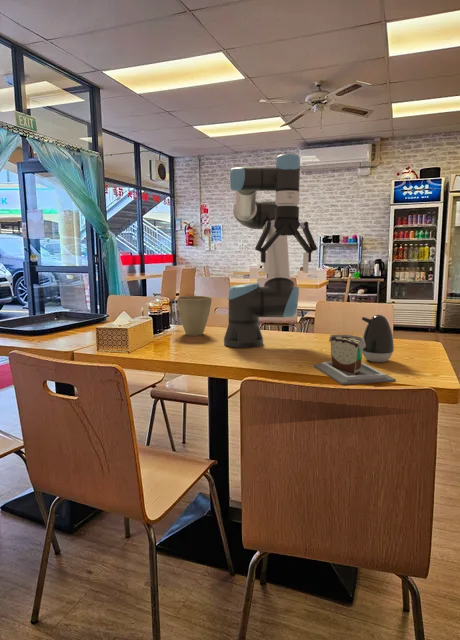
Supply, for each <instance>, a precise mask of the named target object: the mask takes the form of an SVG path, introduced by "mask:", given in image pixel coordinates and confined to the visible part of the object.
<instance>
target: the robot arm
mask: <svg viewBox="0 0 460 640" xmlns="http://www.w3.org/2000/svg"><path fill="white" fill-rule="evenodd" d="M275 159H276V160H275V167H274V166H273V167H269V166H268V167H253V166H251V167H248V166H247V167H246V166H245V167H244V166H240V167H232V168H231V169H230V171H229V172H230V173H229V178H230V179H229V181H230V183H229V189H230V191H233V192H235V203H234V204H233V216H234V218H235V220H236V221H238V223H239V224H241V225H242V226H243V227H245V228H247V229H252V230H262V232H261V235H260V237H259V240H258V241H257V244H256V245H255V248H254V250H255V251H257V252H260V263H262V264H263V270H262V271H263V273H264V274H267V280H266V281H265V282H264V284H263V286H260V283H258V282H253V283H252V282H249V283H242V284H237V285H232V286H230V287H229V288H228V298H227V300H228V324H227V328H226V331H225V333H224V337H223V345H224V346H226V347H231V348H240V349H247V348H248V349H249V348H259V347H261V346H263V345H264V337H263V334H262V331H261V327H260V323H259V321H260V318H283V319H285V318H293V317H295V315H296V313H297V309H298V303H299V297H300V296H299V294H300V292H299V291H300V288H299V287H298V286H296V285H295V282H294V280H293V279H291V277H290V260H289V245H288V244H289V243H288V236H290V237H291V236H292V237H294V238H295V240H297V242H298V243H299V245H300V246H301V247H302V248H303V250H304V251H305V252H303V254H302V255H303V257H302V273H305V274H308V273H309V263H311V262H312V253H313V252H315V251H317V250H318V247H317V244H316V242H315V240H314V237H313V235H312V233H311V231H310V228H309V222H308V221H301V222H300V220H299V217H300V207H299V204H300V179H301V178H300V175H301V157H300V156H299V155H298V154H294V153H284V154H279V155H278V156H276V158H275ZM261 191H262V192H263V191H264V192H266V191H267V192H269V191H270V192H271V191H272V192H275V200H274V201H273V200H270V201H268V200H260V201H259V200H256V199H257V192H261ZM299 228H301V229H302V231H303V234H304V237H305V238H304V237H303V236H302V235H301V233H300V231H299V230H298V229H299ZM305 239H306V240H305ZM265 241H266V243H265ZM264 243H265V244H264ZM263 244H264V245H263Z"/></svg>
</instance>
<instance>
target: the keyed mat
mask: <svg viewBox="0 0 460 640" xmlns="http://www.w3.org/2000/svg"><path fill="white" fill-rule="evenodd" d="M313 367H314V368H315V369H317V370H319V371H320V372H322V373H323V372H324V373H323V374H325V375H326V374H327V375H326V376H328V377H329V378H331V379H332V380H334V381H335V382H337V383H338V384H339V385H341V386H342V385H343V386H344V385H359V384H375V383H391V382H392V383H395V382H396V381H397V380H396V378H394V377H392V376H390V375H388V374H387V373H384V372H383V371H380V370H378V369H376V368H374V367H372V366H370V365H368V364H365V363H364V362H362V361H361V368H360V373H359V374H358V375H351V374H348V373H345V372H342V371H339V370H337V369H336V368H334V367H332V365H331V361H321V363H315V364H313ZM394 381H395V382H394Z"/></svg>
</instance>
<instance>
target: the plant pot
mask: <svg viewBox="0 0 460 640" xmlns="http://www.w3.org/2000/svg"><path fill="white" fill-rule="evenodd" d="M176 301H177V307H178V308H177V309H178V312H179V313H178V314H179V316H180V317H179V318H180V321H181V325H182V327H183V330H184V333H185V335H187V336H194V337H195V336H202V335H203V334H204V332H205V329H206V326H207V323H208V319H209V315H210V311H211V305H212V297H211V296H203V295H186V296H183V295H182V296H177V297H176Z"/></svg>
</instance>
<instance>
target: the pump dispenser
mask: <svg viewBox="0 0 460 640" xmlns="http://www.w3.org/2000/svg"><path fill="white" fill-rule="evenodd" d="M361 320H362V321H363V322H365V323H367V325H366V327H365V328H364V332H363V335H362V338H364V341H365V344H366V347H365V348H363V353H362V356H363V357H364V358H365V359H366V360H367V361H369V362H372V363H385V362H387V361H389V360H390V358H392V356H393V353H394V351H395V350H394V349H395V343H394V336H393V332H392V331H393V330H392V328H391V325H390V322H389V321H388V319H387V318H386V317H385V316H384V315H382V314H375V315H373V316H372V317H371V318H368V317H365V316H362V317H361Z"/></svg>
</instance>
